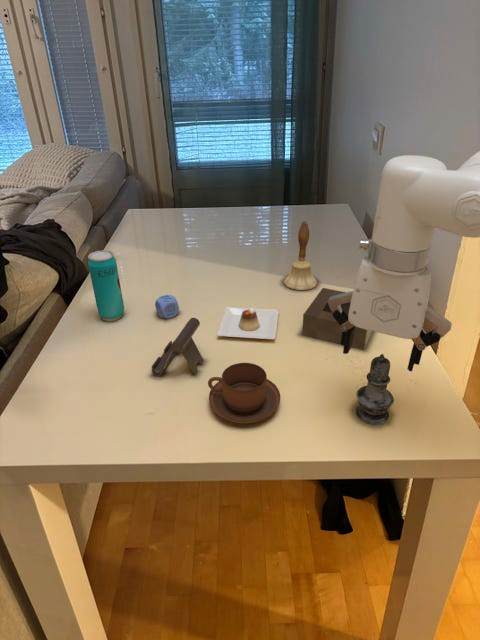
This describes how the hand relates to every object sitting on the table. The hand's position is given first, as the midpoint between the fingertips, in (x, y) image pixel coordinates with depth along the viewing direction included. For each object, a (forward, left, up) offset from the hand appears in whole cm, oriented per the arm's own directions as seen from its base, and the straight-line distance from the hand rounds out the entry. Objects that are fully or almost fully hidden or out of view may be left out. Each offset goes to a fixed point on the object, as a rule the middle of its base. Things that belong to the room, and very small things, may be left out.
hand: (378, 357), depth 71 cm
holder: (+11, -24, -11) cm, 29 cm away
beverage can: (+59, -7, -11) cm, 61 cm away
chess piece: (-1, 0, -11) cm, 11 cm away
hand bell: (+27, -40, -11) cm, 49 cm away
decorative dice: (+49, -13, -11) cm, 52 cm away
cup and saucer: (+19, +7, -11) cm, 24 cm away
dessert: (+30, -16, -11) cm, 35 cm away
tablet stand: (+36, +2, -11) cm, 37 cm away
